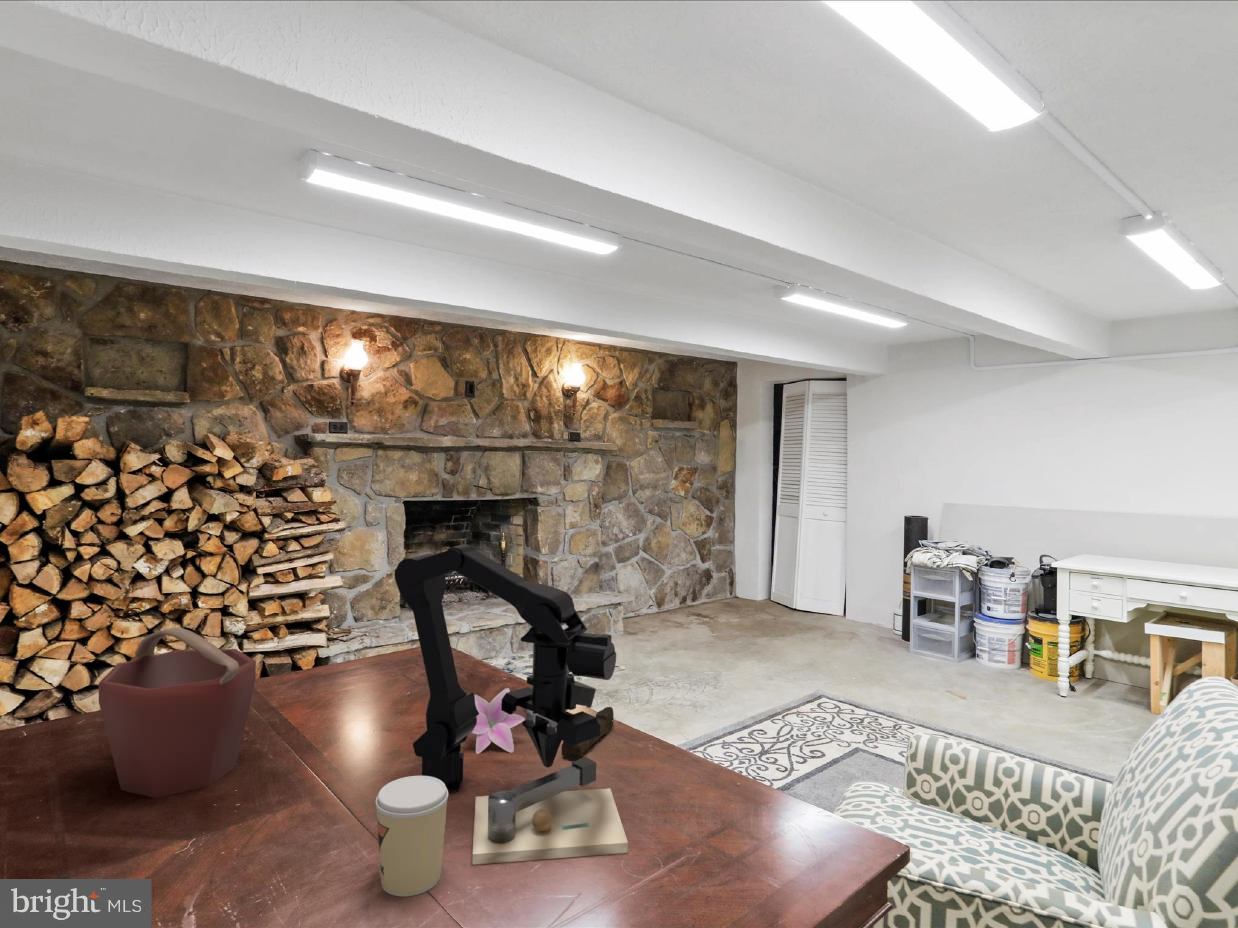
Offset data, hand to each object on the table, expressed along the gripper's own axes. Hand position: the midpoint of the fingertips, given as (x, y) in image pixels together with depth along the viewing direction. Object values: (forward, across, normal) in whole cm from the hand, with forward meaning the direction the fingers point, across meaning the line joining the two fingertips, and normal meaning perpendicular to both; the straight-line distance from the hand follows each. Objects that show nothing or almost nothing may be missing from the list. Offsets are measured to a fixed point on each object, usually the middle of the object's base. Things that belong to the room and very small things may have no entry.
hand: (548, 766), depth 115 cm
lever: (+5, -4, +4) cm, 8 cm away
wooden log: (+7, +14, -22) cm, 27 cm away
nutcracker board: (+7, -5, +4) cm, 9 cm away
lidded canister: (+7, -2, +25) cm, 26 cm away
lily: (+7, +25, -6) cm, 27 cm away
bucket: (+7, +51, +40) cm, 66 cm away
